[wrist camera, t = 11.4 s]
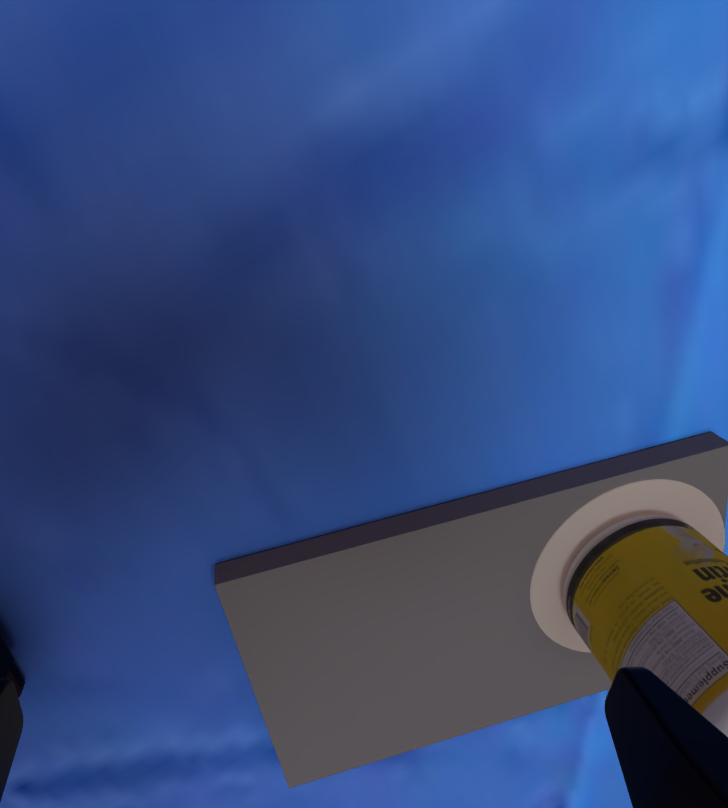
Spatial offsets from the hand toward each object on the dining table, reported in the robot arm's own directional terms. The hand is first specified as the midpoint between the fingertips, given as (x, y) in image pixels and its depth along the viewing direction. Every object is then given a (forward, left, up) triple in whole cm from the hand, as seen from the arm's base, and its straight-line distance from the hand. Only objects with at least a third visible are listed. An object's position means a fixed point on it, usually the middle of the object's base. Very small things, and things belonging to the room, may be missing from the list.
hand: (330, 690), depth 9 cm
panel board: (+6, -13, -13) cm, 19 cm away
